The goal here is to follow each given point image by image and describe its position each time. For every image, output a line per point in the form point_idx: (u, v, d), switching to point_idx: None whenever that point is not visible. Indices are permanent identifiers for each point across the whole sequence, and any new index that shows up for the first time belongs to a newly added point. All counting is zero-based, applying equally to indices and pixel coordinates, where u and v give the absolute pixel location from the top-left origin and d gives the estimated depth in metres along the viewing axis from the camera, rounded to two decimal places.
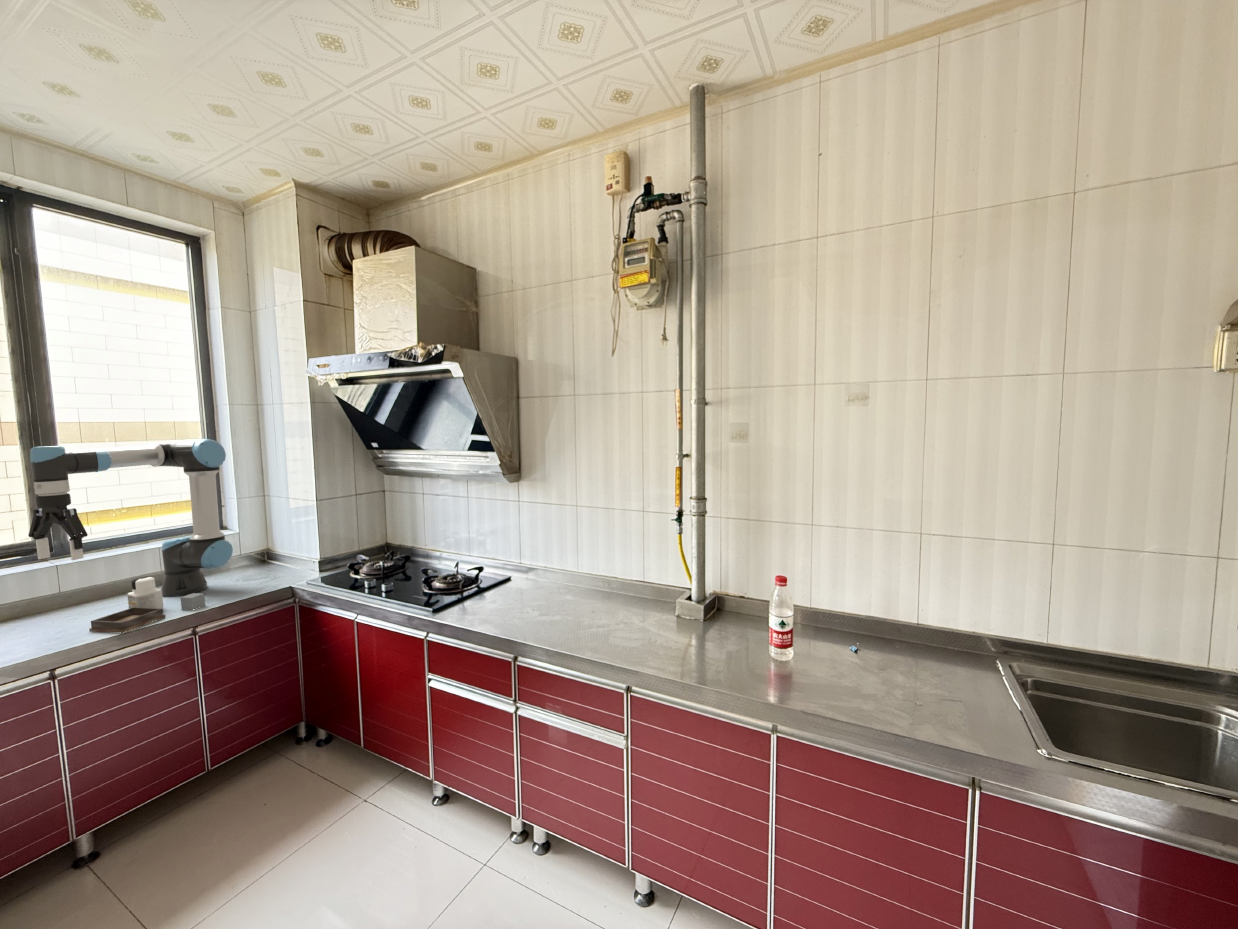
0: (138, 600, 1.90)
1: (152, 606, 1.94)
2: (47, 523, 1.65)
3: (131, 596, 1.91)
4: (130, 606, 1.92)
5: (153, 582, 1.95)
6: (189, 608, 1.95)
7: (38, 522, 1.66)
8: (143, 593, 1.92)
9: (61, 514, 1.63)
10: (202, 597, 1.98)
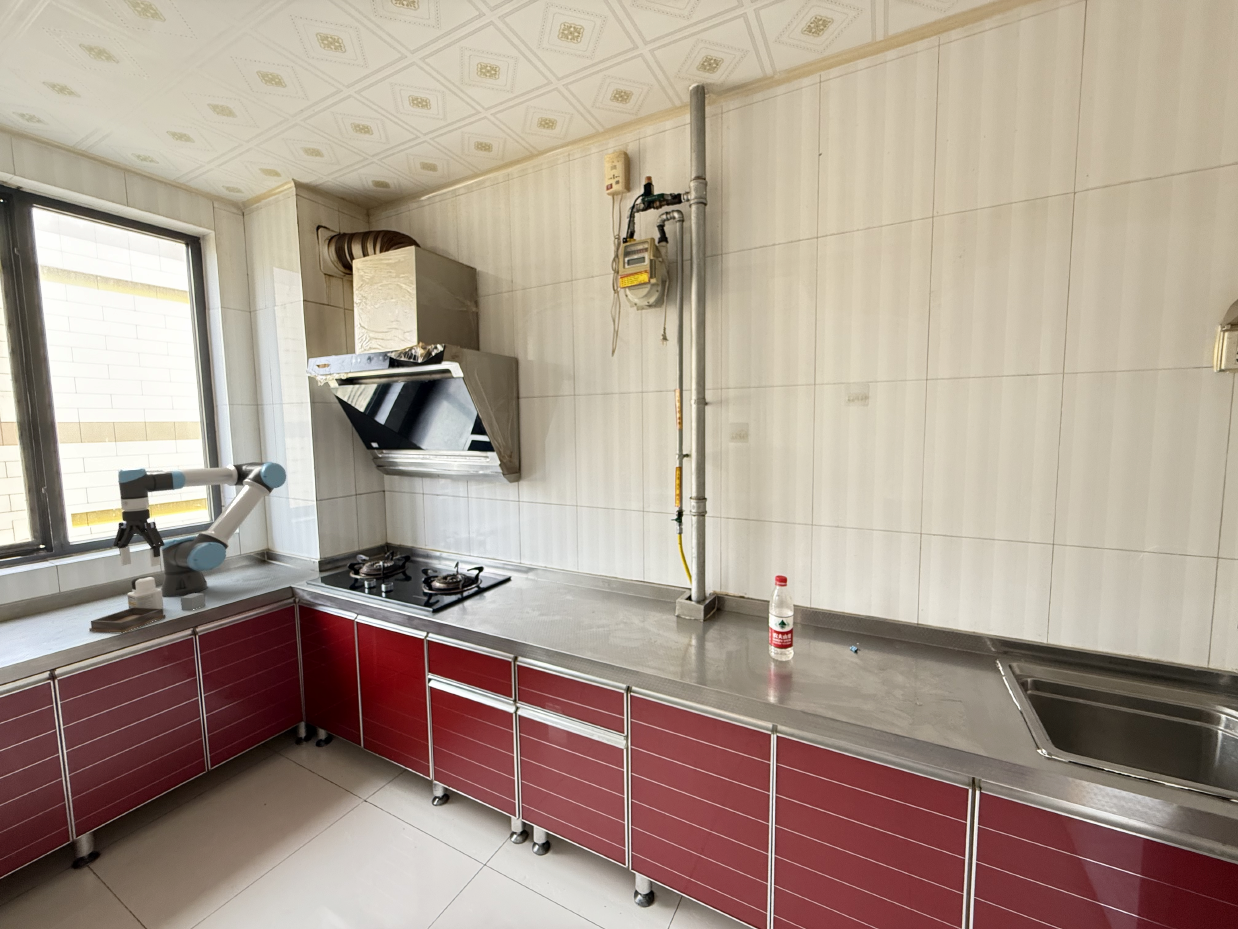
0: (138, 600, 1.90)
1: (152, 606, 1.94)
2: (130, 534, 1.93)
3: (131, 596, 1.91)
4: (130, 606, 1.92)
5: (153, 582, 1.95)
6: (189, 608, 1.95)
7: (122, 533, 1.93)
8: (143, 593, 1.92)
9: (143, 527, 1.91)
10: (202, 597, 1.98)
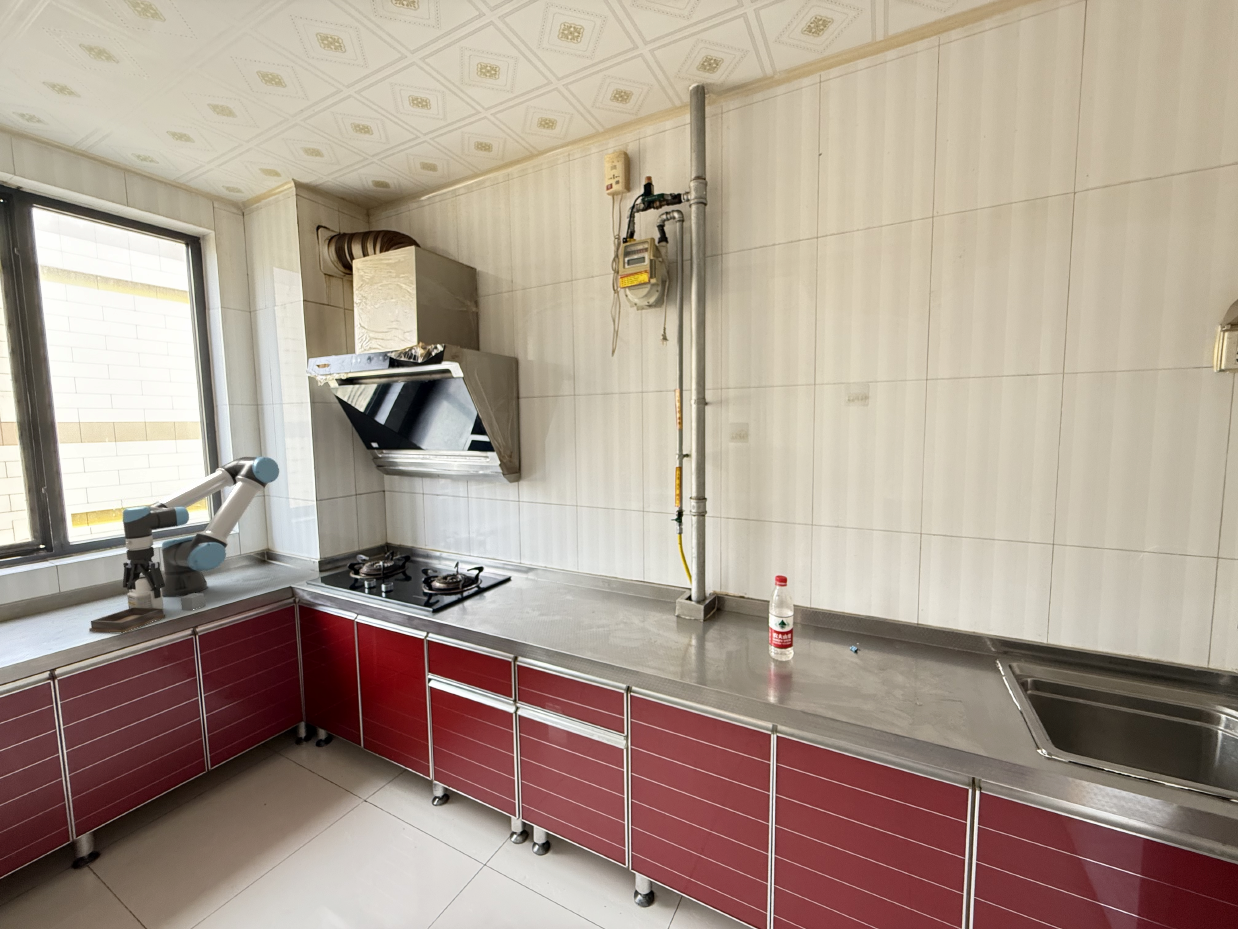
0: (138, 600, 1.90)
1: None
2: (136, 573, 1.94)
3: (131, 596, 1.91)
4: (130, 606, 1.92)
5: None
6: (189, 608, 1.95)
7: (129, 573, 1.94)
8: (143, 593, 1.92)
9: (147, 565, 1.92)
10: (202, 597, 1.98)
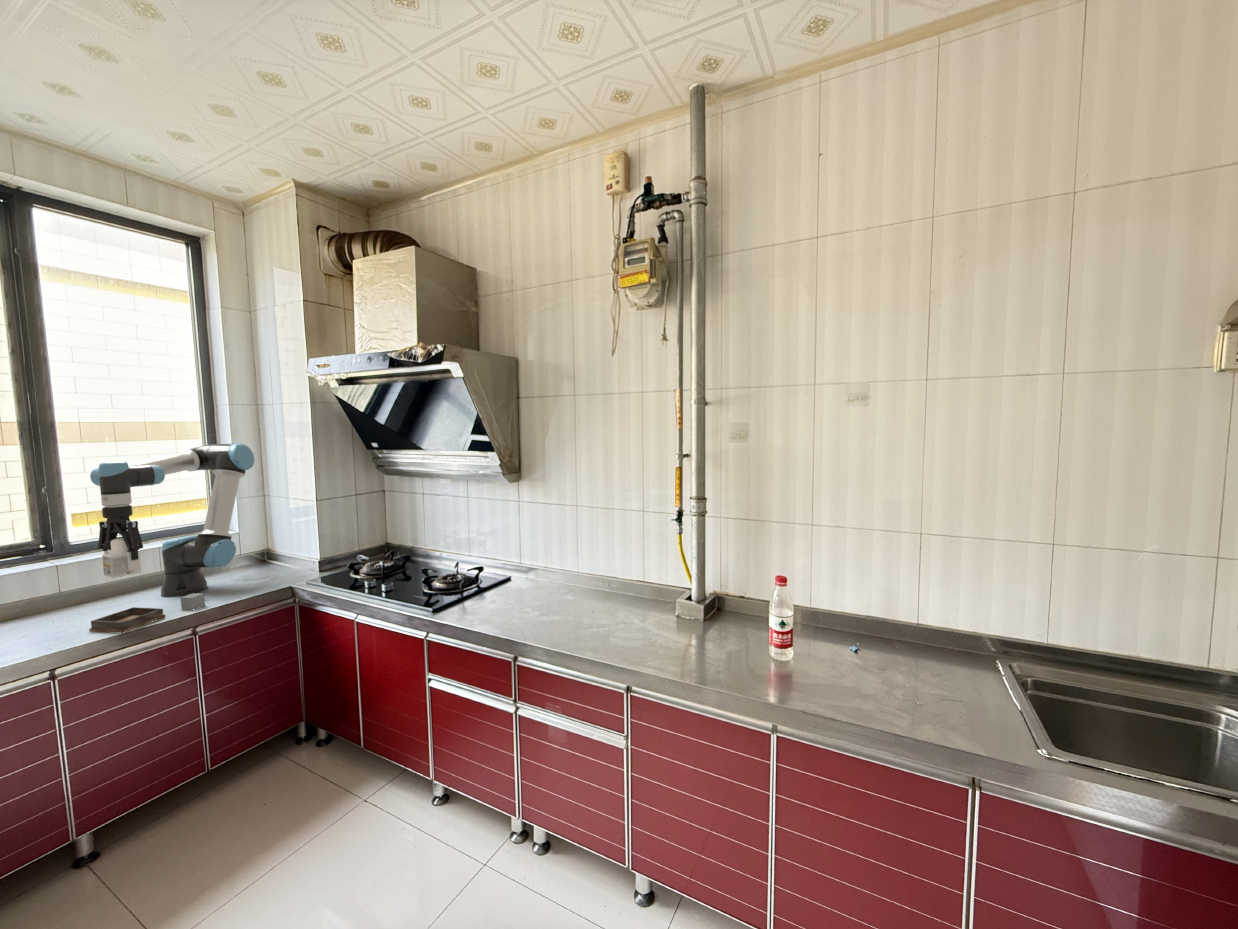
0: (113, 561, 1.76)
1: None
2: (113, 533, 1.80)
3: (106, 557, 1.77)
4: (105, 568, 1.78)
5: None
6: (189, 608, 1.95)
7: (105, 533, 1.81)
8: (119, 554, 1.78)
9: (124, 524, 1.78)
10: (202, 597, 1.98)
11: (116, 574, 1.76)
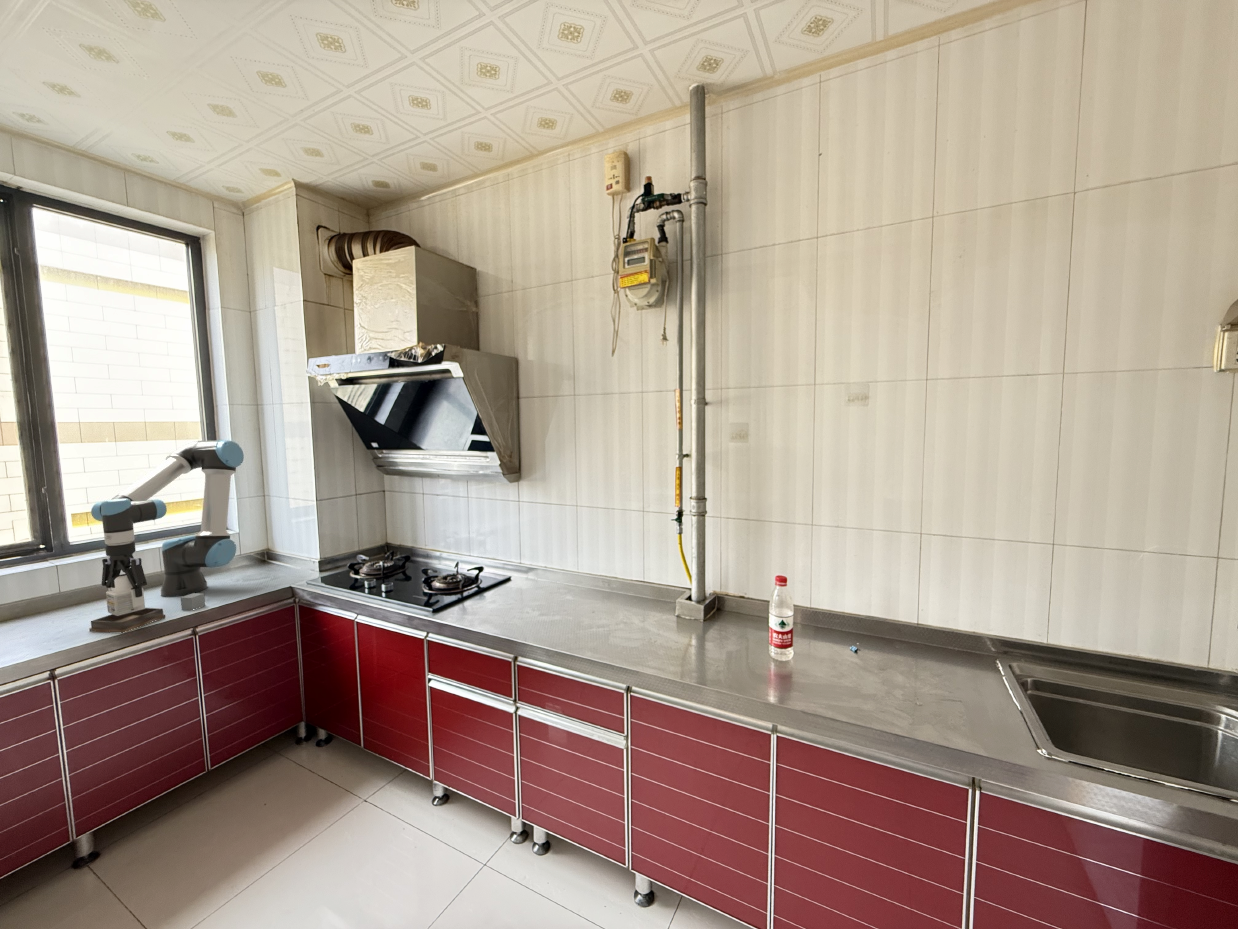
0: (117, 599, 1.76)
1: (132, 606, 1.80)
2: (116, 570, 1.80)
3: (110, 595, 1.77)
4: (109, 606, 1.79)
5: None
6: (189, 608, 1.95)
7: (108, 570, 1.81)
8: (123, 592, 1.78)
9: (127, 562, 1.78)
10: (202, 597, 1.98)
11: (120, 612, 1.77)
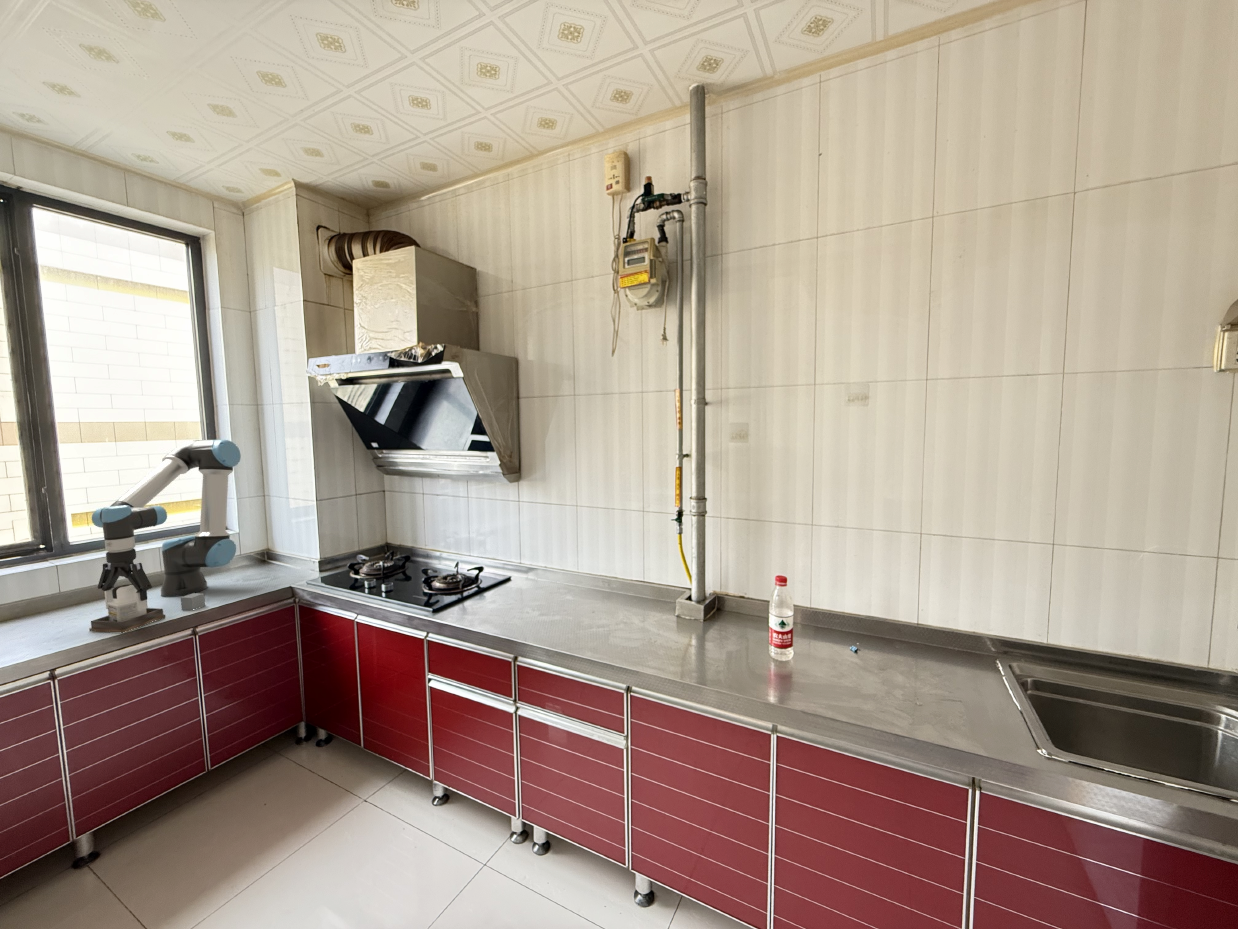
0: (120, 609, 1.77)
1: (135, 616, 1.80)
2: (115, 576, 1.81)
3: (112, 605, 1.78)
4: (110, 616, 1.79)
5: (136, 590, 1.82)
6: (189, 608, 1.95)
7: (106, 575, 1.81)
8: (125, 602, 1.78)
9: (128, 568, 1.79)
10: (202, 597, 1.98)
11: None
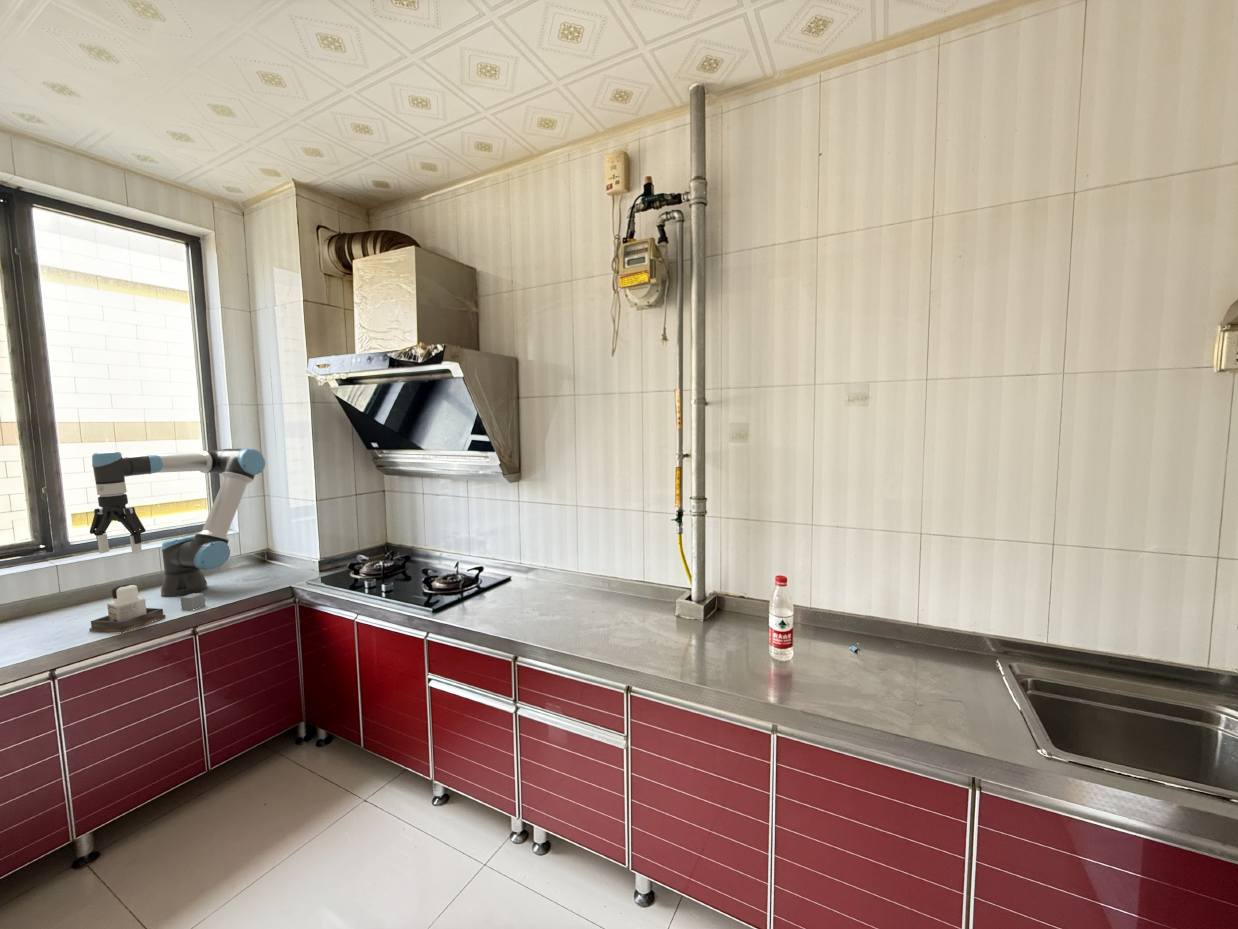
0: (120, 609, 1.77)
1: (135, 616, 1.80)
2: (107, 521, 1.84)
3: (111, 606, 1.78)
4: (110, 616, 1.79)
5: (136, 590, 1.82)
6: (189, 608, 1.95)
7: (98, 520, 1.85)
8: (125, 602, 1.78)
9: (121, 512, 1.82)
10: (202, 597, 1.98)
11: None
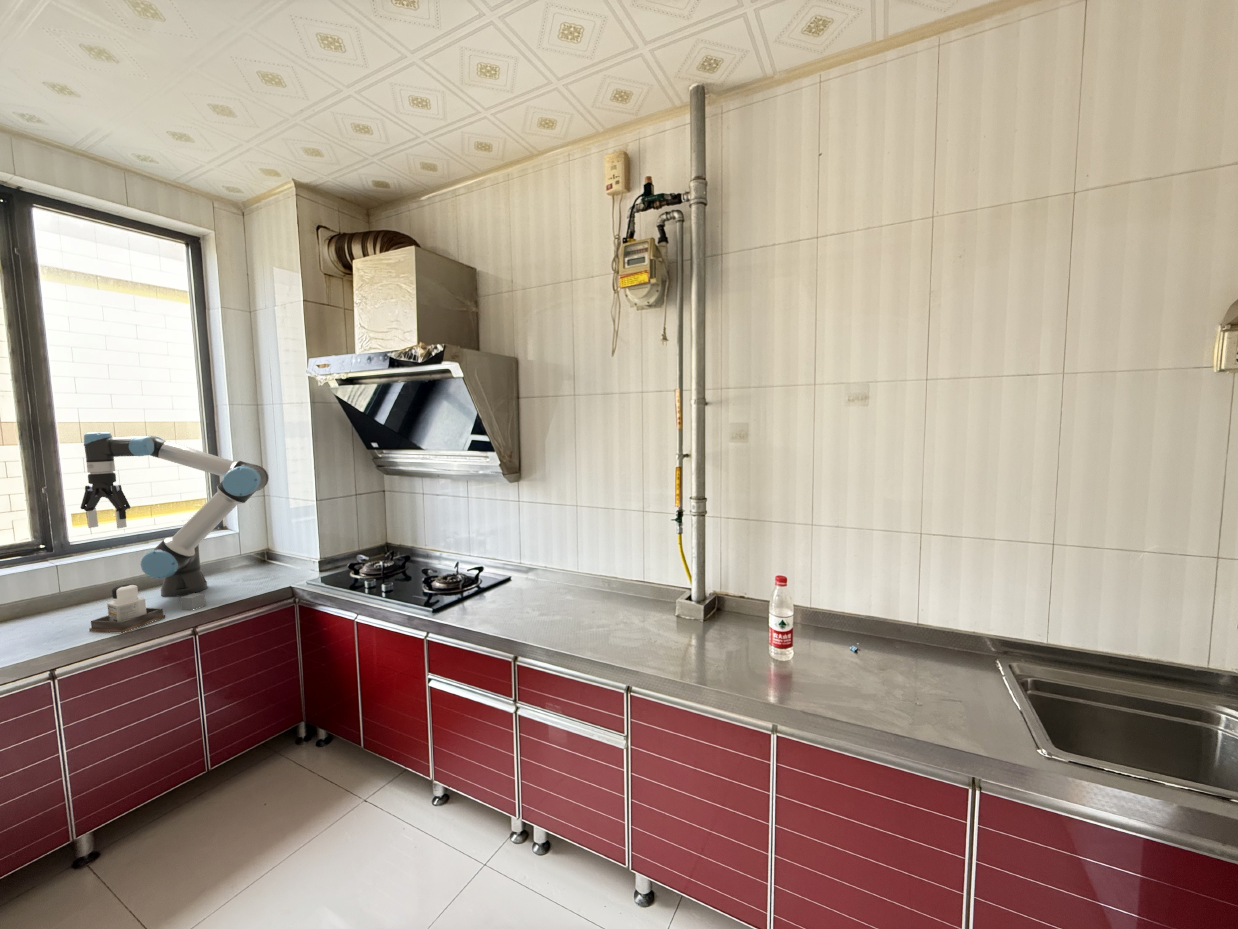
0: (120, 609, 1.77)
1: (135, 616, 1.80)
2: (96, 497, 1.97)
3: (111, 606, 1.78)
4: (110, 616, 1.79)
5: (136, 590, 1.82)
6: (189, 608, 1.95)
7: (89, 496, 1.97)
8: (125, 602, 1.78)
9: (108, 489, 1.95)
10: (202, 597, 1.98)
11: None
